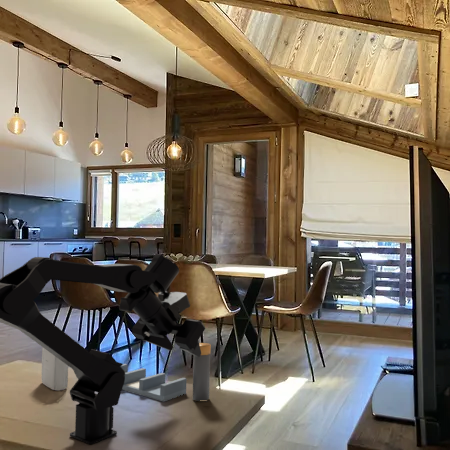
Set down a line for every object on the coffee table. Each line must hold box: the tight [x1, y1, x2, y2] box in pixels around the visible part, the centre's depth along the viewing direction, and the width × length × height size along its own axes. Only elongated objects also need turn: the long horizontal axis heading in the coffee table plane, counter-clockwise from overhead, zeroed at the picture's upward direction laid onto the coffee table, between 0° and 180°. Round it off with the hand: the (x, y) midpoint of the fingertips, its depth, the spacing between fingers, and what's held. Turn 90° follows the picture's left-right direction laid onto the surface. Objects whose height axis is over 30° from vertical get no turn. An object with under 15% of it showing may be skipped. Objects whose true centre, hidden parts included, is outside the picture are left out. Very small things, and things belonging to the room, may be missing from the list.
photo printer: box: [41, 346, 69, 391], centre depth 122 cm, size 10×4×12 cm, turn 39°
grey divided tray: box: [120, 363, 187, 402], centre depth 121 cm, size 8×23×4 cm, turn 53°
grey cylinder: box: [192, 342, 212, 402], centre depth 114 cm, size 4×4×13 cm
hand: (185, 352), depth 110 cm, fingers open, 9 cm apart
